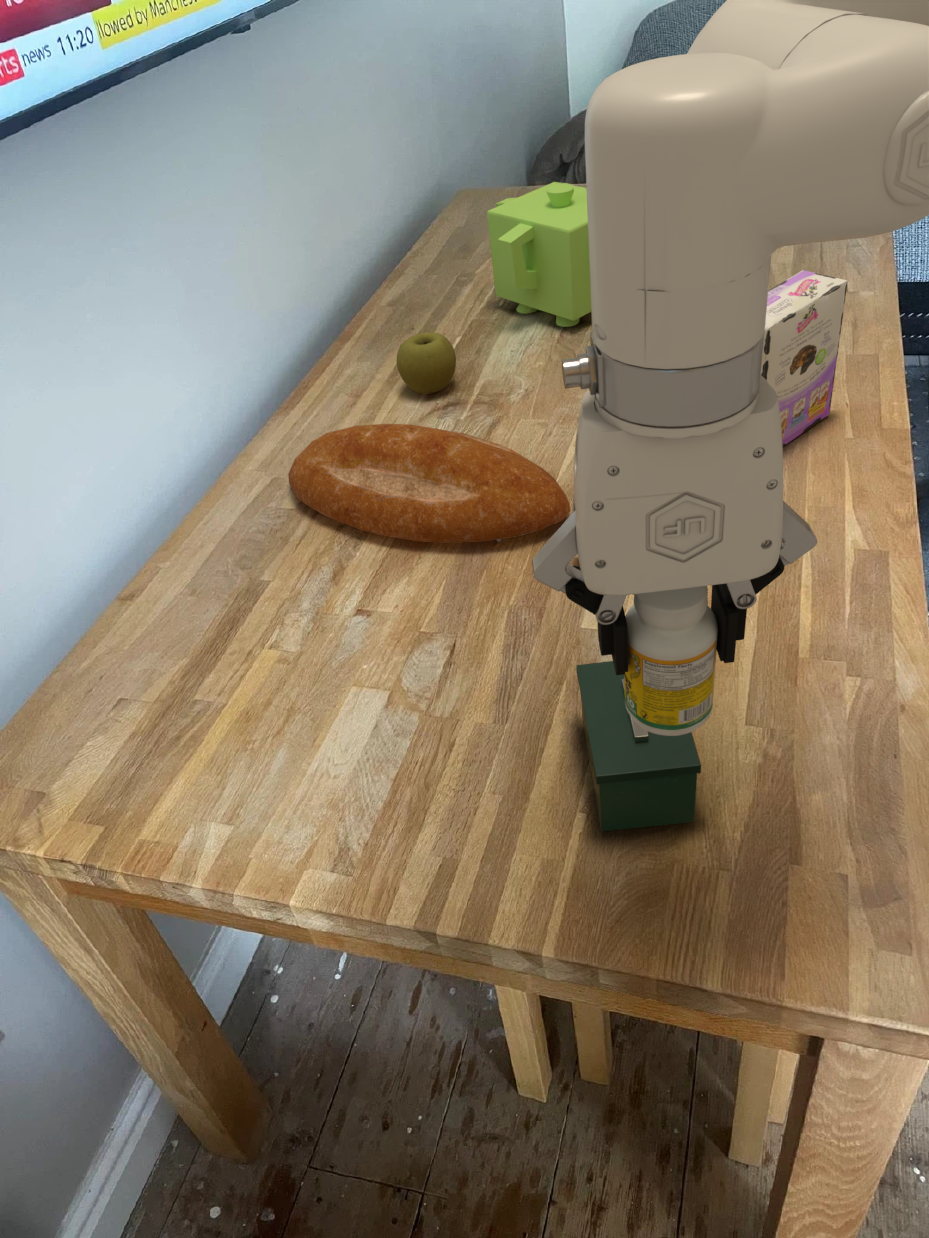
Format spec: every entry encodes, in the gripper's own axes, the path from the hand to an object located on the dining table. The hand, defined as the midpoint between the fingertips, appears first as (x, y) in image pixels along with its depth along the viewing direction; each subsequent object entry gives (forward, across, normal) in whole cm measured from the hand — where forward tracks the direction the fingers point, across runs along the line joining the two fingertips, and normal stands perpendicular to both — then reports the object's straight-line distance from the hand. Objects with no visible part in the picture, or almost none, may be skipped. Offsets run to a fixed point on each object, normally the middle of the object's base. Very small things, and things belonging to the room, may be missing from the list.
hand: (669, 650), depth 55 cm
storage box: (+21, +4, +98) cm, 101 cm away
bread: (+21, -18, +50) cm, 57 cm away
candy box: (+21, +23, +55) cm, 64 cm away
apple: (+21, -17, +77) cm, 82 cm away
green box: (+21, -1, +8) cm, 23 cm away
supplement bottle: (+5, 0, 0) cm, 5 cm away
